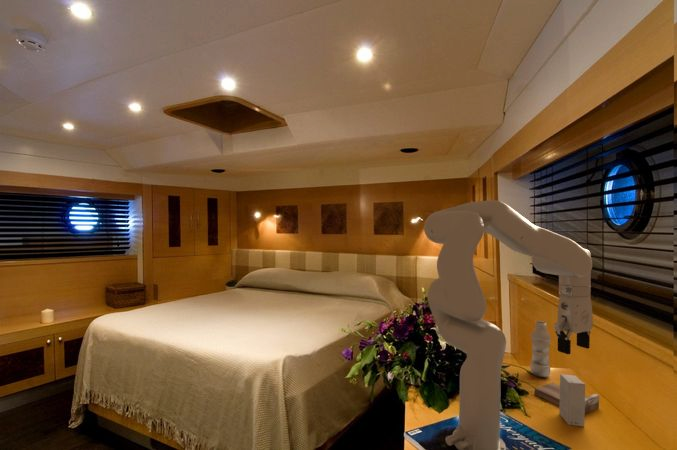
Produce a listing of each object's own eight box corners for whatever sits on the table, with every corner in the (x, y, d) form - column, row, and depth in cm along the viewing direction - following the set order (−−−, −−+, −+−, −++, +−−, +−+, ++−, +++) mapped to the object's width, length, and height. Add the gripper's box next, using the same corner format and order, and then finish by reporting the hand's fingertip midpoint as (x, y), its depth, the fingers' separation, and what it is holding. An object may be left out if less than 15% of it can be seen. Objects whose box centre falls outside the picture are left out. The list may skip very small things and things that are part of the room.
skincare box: (585, 427, 94) (585, 384, 94) (568, 425, 95) (568, 382, 95) (574, 415, 100) (575, 375, 100) (558, 413, 101) (559, 373, 101)
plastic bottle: (532, 378, 125) (533, 324, 125) (528, 370, 131) (529, 319, 131) (552, 380, 123) (553, 325, 123) (547, 373, 129) (548, 321, 129)
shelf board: (582, 416, 100) (582, 402, 100) (534, 394, 112) (534, 382, 112) (599, 408, 104) (600, 395, 104) (552, 388, 117) (552, 376, 117)
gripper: (571, 296, 90) (570, 359, 90) (604, 290, 98) (604, 349, 98) (543, 291, 97) (542, 350, 97) (576, 286, 105) (576, 341, 105)
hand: (573, 349), depth 98 cm, fingers open, 9 cm apart
